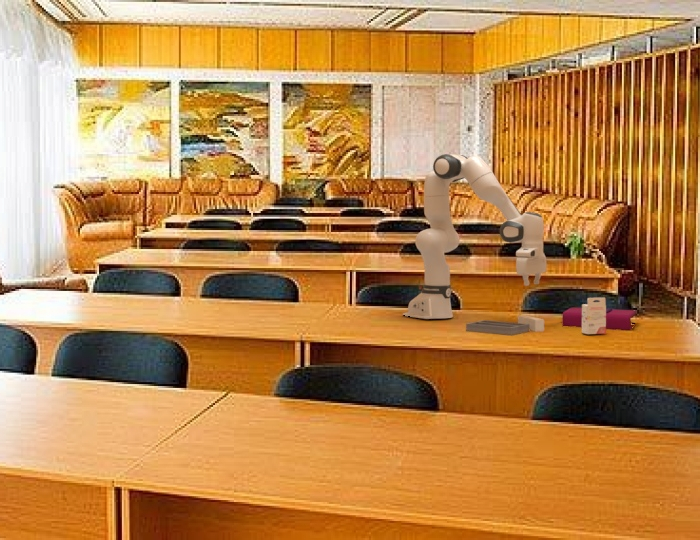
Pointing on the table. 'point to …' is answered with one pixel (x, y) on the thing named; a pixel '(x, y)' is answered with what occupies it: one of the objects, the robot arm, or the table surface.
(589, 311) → the ink cartridge box
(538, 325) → the clay strip
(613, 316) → the book
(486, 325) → the divided tray
